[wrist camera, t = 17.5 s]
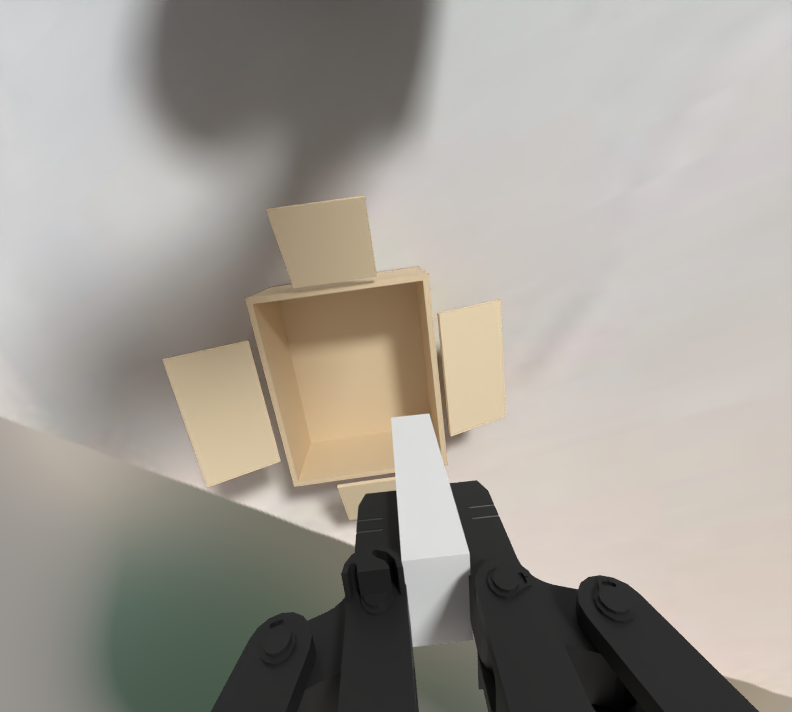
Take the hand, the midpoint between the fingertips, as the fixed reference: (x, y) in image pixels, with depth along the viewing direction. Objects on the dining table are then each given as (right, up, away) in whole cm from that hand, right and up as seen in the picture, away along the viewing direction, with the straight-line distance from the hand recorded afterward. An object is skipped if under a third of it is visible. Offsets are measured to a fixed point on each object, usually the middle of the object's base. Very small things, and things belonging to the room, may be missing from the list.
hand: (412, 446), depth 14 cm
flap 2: (-7, +13, +17) cm, 23 cm away
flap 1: (-18, -2, +22) cm, 28 cm away
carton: (-5, +3, +33) cm, 33 cm away
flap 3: (-3, -14, +30) cm, 33 cm away
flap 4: (+8, +2, +25) cm, 26 cm away
